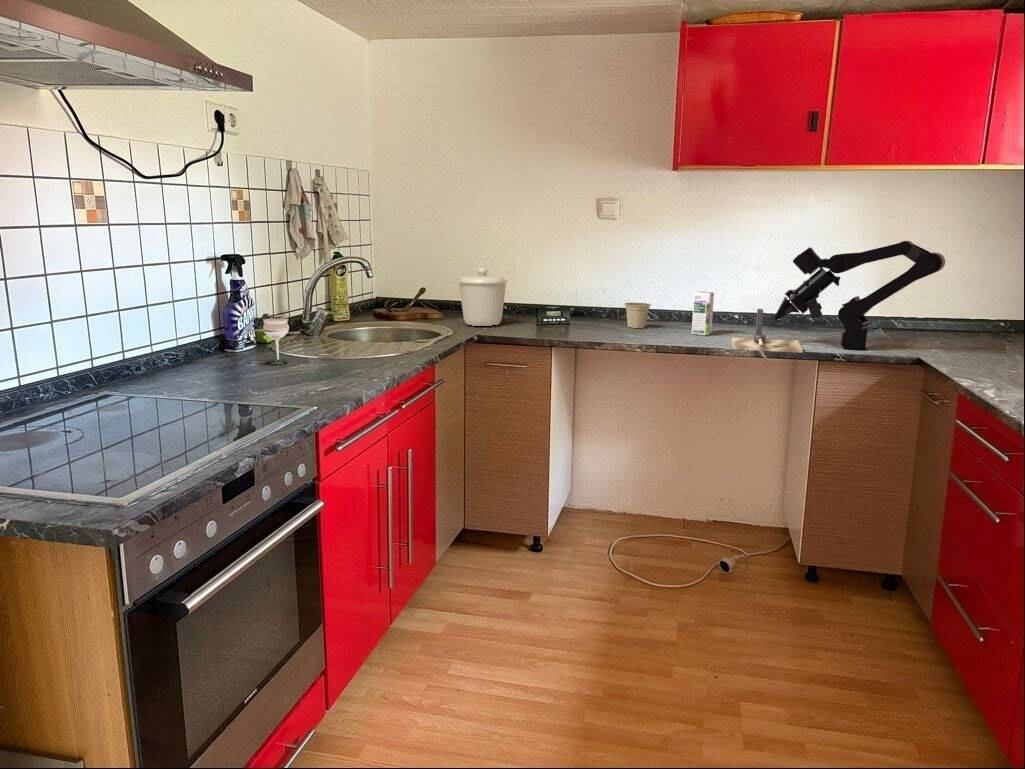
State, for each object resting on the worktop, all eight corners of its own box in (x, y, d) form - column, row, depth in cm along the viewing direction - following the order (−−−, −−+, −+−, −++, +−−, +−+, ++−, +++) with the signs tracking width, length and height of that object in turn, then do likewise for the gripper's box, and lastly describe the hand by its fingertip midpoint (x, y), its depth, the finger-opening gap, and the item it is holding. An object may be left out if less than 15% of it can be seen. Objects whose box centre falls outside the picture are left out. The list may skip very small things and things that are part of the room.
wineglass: (285, 366, 207) (282, 321, 204) (261, 365, 208) (258, 321, 205) (295, 361, 214) (292, 318, 211) (271, 360, 214) (269, 317, 212)
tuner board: (797, 343, 246) (797, 339, 246) (802, 352, 230) (802, 348, 230) (732, 340, 251) (732, 336, 251) (733, 349, 235) (733, 345, 235)
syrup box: (690, 334, 263) (693, 292, 259) (695, 332, 268) (697, 290, 265) (707, 336, 260) (710, 293, 257) (711, 333, 265) (714, 291, 262)
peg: (763, 336, 251) (765, 308, 249) (767, 346, 231) (769, 317, 230) (752, 336, 252) (754, 308, 250) (754, 346, 232) (756, 316, 230)
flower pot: (650, 326, 282) (651, 302, 280) (649, 330, 273) (650, 305, 271) (624, 325, 284) (625, 302, 282) (622, 329, 275) (623, 305, 273)
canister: (515, 323, 287) (515, 266, 282) (494, 330, 271) (494, 269, 266) (472, 320, 294) (471, 265, 289) (449, 327, 278) (448, 268, 273)
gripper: (836, 307, 231) (794, 342, 236) (828, 301, 249) (789, 333, 254) (811, 280, 231) (769, 315, 237) (804, 275, 249) (766, 308, 254)
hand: (774, 319), depth 245 cm, fingers closed
